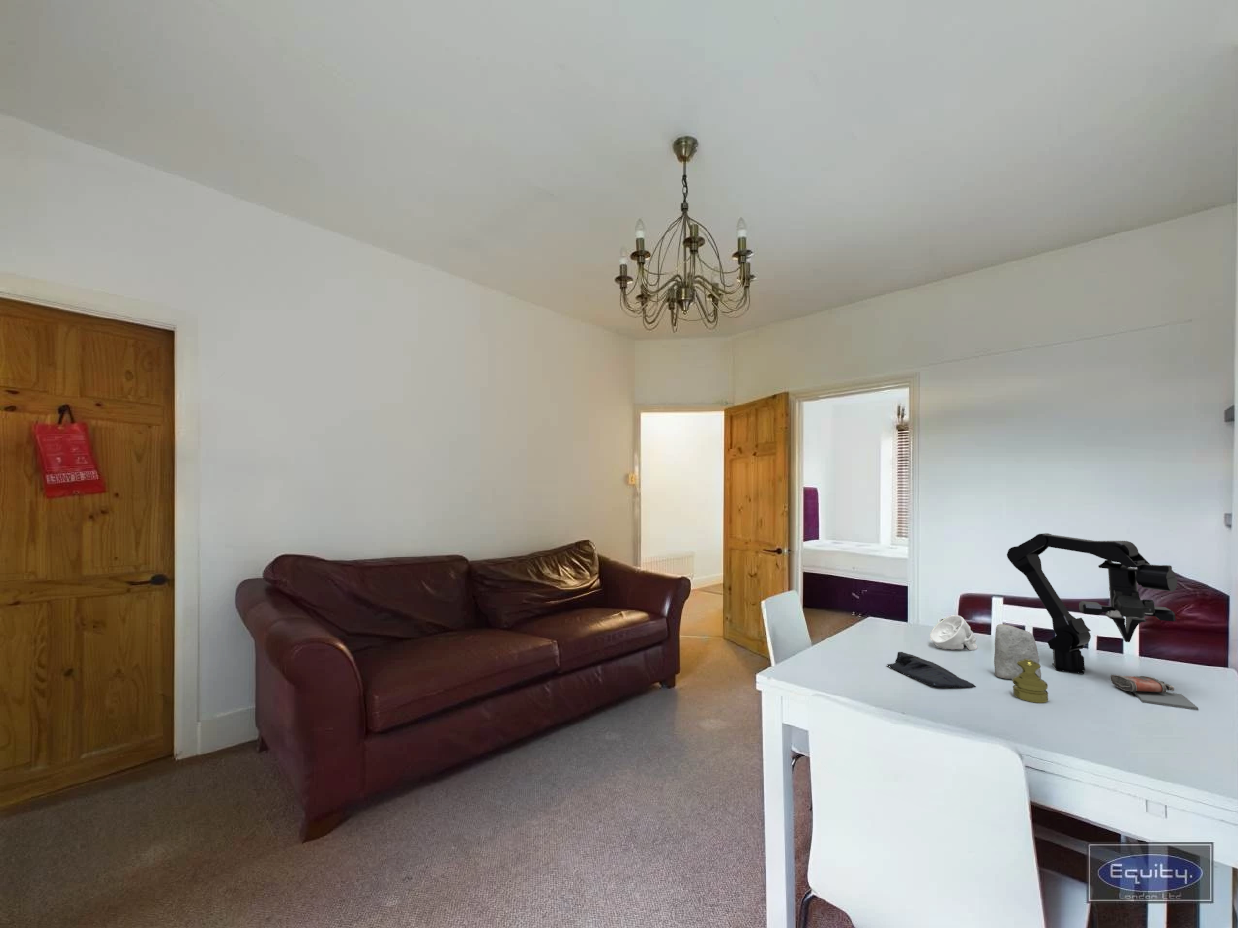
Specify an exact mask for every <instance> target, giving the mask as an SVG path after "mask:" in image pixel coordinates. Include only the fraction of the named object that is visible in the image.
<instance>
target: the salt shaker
mask: <svg viewBox="0 0 1238 928" xmlns="http://www.w3.org/2000/svg"><path fill="white" fill-rule="evenodd" d="M1017 664H1018V665H1019V666H1020V667H1021V668H1022V670H1023V671H1022V672H1021V673H1020V674H1018V675H1017V676H1014V677H1013V678H1012V679H1011V681H1012V684H1013V685H1012V691H1013V692H1012V693H1013V695H1014V697H1016V698H1018V699H1019V700H1023V701H1026V702H1029V703H1037V704H1038V703H1039V704H1041V703H1043V704H1044V703H1048V702H1049V692H1048V691H1047V690H1048V685H1049V684H1048V683H1047V682H1046V681H1045V680H1044V679H1042V677H1041V678H1040V677H1039V676H1038V675H1037V674H1036V673H1035V672H1036V670H1037V669H1039V668H1040V669H1041V664H1040V663H1039V664H1038V663H1037V662H1034V661H1033V660H1031V659H1024V660H1019V661H1017Z"/></svg>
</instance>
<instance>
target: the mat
mask: <svg viewBox="0 0 1238 928" xmlns="http://www.w3.org/2000/svg"><path fill="white" fill-rule="evenodd" d="M1131 692H1132V693H1133V694H1134V695H1135V696H1136V697H1137V698H1138V699H1139V700H1140V702H1142V703H1145V704H1153V705H1158V706H1166V707H1174V708H1179V709H1180V708H1181V709H1187V710H1193V711H1194V710H1195V711H1199V707H1198V706H1197V705H1196V704H1195V703H1193V702H1192V701H1191V700H1189V699H1188V698H1187V697H1186V696H1185V695H1184V694H1182V693H1176V692H1170V691H1166V693H1158V692H1150V691H1135V692H1134V691H1131Z"/></svg>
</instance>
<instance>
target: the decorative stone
mask: <svg viewBox="0 0 1238 928" xmlns="http://www.w3.org/2000/svg"><path fill="white" fill-rule="evenodd" d="M994 635H995V636H994V659H993V663H994V664H993V665H994V674H995V677H998V678H1001V679H1006V680H1012V678H1013V677H1014V676H1017V675H1018V674H1020V673H1021V672H1022V671H1023V670H1022V668H1021V667H1020V666H1019V665H1018V664H1017V661H1019V660H1024V659H1031V660H1033V661H1034V662H1037V663H1038V664H1040V659H1039V652H1038V648H1037V643H1036V640H1035V637H1034V635H1033V634H1032V633H1031V632H1030V631H1028V630H1024V629H1021V628H1018V627H1016V626H1012V625H1008V624H1004V623H1003V624H1002V623H999V624H997V625H996V627H995V634H994ZM1035 673H1036V674H1037V675H1038V676H1039V677H1040V678H1041V679H1042V672H1041V667H1040V668H1039V669H1037V670H1036V672H1035Z"/></svg>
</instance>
